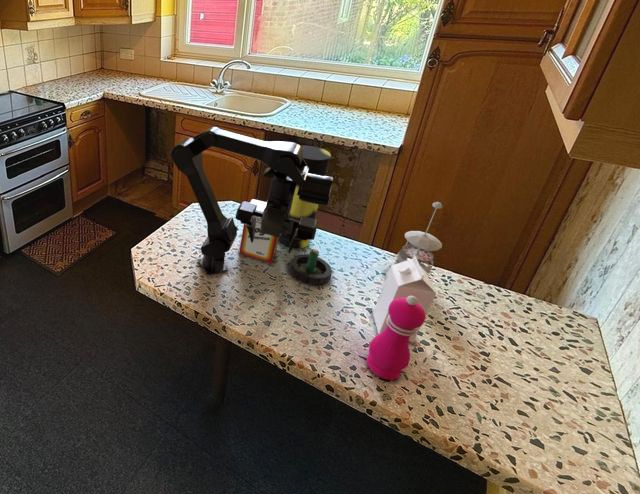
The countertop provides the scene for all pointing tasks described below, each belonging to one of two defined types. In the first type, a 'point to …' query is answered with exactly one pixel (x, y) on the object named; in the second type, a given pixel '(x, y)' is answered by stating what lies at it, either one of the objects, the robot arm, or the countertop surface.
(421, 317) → the pepper mill
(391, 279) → the milk carton
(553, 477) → the countertop surface
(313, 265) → the pencil
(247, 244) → the baking soda box
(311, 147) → the container
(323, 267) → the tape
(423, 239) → the french press
